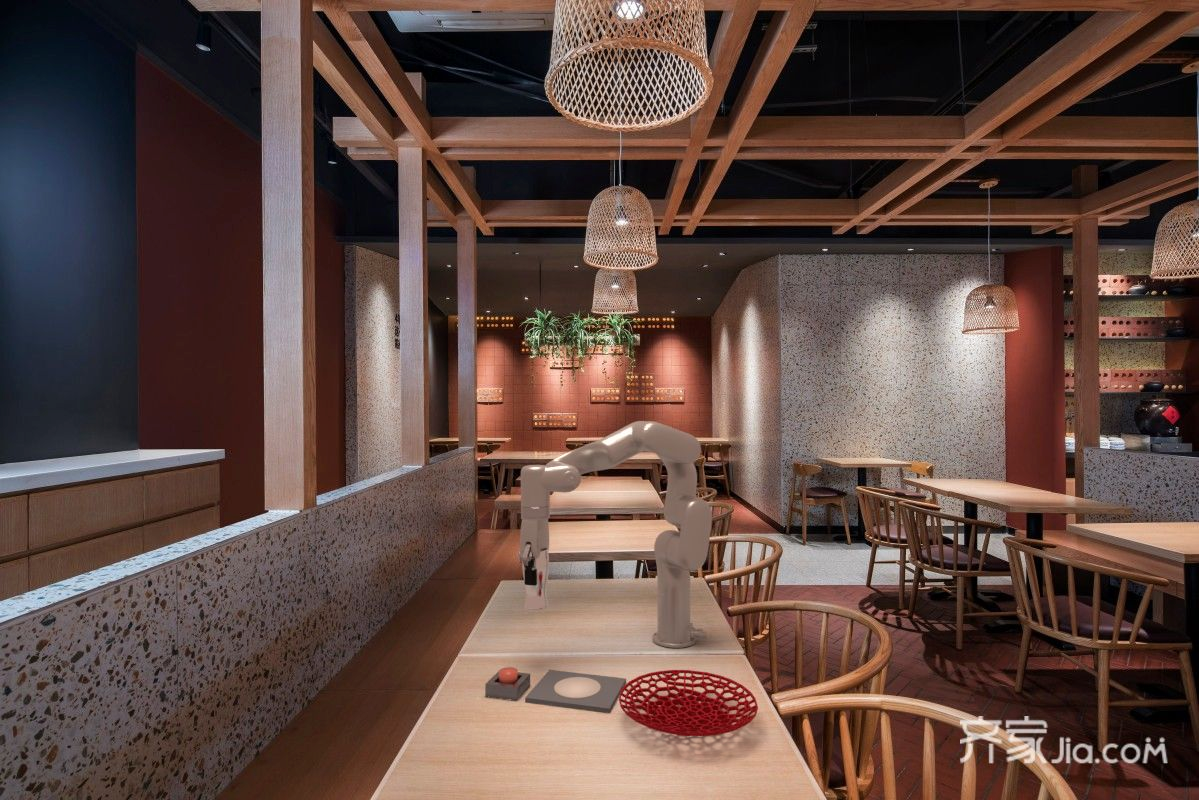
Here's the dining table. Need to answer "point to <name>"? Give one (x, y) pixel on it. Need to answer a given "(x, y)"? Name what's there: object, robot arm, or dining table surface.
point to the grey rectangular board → (577, 691)
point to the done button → (508, 675)
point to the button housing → (507, 687)
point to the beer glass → (538, 583)
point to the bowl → (688, 704)
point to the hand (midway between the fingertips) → (536, 580)
